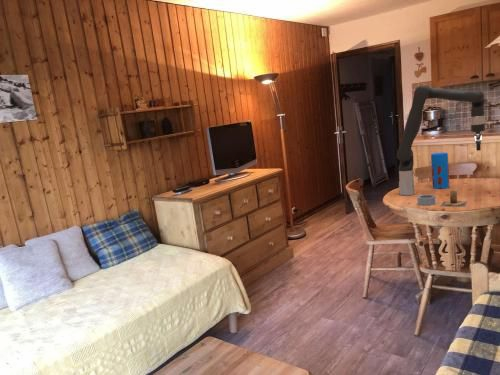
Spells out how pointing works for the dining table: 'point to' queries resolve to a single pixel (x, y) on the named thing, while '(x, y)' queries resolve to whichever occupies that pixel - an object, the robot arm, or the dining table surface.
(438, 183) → the blue box
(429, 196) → the bowl
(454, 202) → the lid
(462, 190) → the dining table surface
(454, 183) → the dining table surface
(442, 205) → the coaster
